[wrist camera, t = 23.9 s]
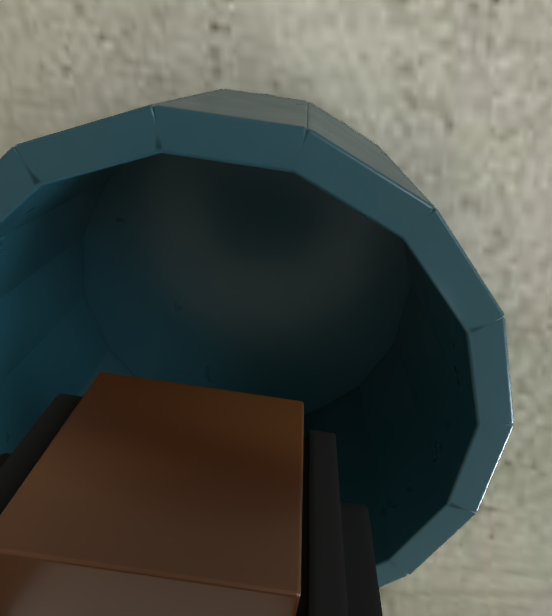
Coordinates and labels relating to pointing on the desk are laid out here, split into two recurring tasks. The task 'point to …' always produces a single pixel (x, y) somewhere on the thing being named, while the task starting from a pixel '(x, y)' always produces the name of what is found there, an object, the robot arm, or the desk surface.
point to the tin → (260, 295)
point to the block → (160, 507)
